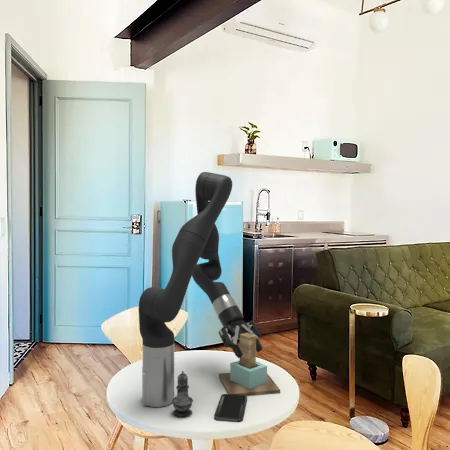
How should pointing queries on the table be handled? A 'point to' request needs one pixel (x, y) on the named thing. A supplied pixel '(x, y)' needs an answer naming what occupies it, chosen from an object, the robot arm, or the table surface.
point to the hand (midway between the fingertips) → (250, 353)
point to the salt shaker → (182, 398)
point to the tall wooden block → (248, 350)
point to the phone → (231, 408)
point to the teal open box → (248, 375)
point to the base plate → (238, 389)
